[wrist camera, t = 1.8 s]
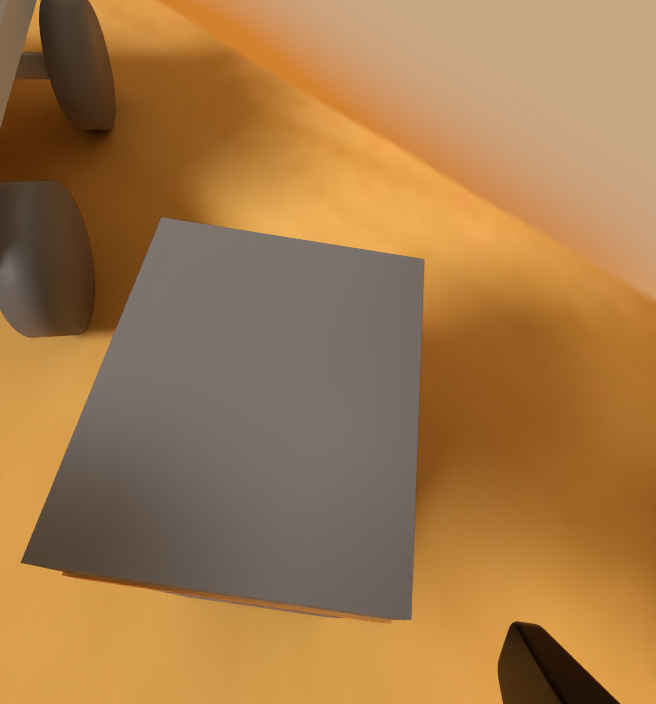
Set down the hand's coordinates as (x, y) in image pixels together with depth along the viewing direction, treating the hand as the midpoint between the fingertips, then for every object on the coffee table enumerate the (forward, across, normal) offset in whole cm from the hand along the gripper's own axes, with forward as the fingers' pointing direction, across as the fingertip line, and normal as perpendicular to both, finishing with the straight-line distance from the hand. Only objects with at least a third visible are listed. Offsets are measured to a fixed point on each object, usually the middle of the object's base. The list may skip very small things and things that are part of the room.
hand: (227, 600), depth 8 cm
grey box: (+10, 0, +4) cm, 11 cm away
